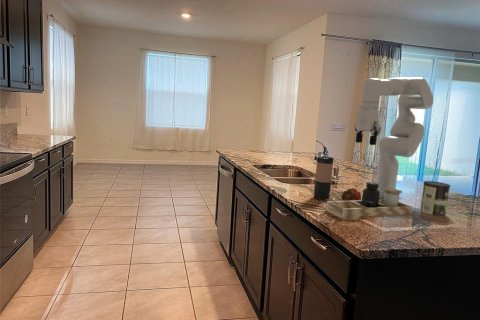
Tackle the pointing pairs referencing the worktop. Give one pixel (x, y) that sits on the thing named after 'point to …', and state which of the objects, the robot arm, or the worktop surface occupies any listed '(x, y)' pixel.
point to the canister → (391, 197)
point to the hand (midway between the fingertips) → (365, 143)
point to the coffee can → (434, 198)
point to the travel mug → (323, 178)
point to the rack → (364, 209)
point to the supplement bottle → (371, 195)
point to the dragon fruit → (351, 195)
